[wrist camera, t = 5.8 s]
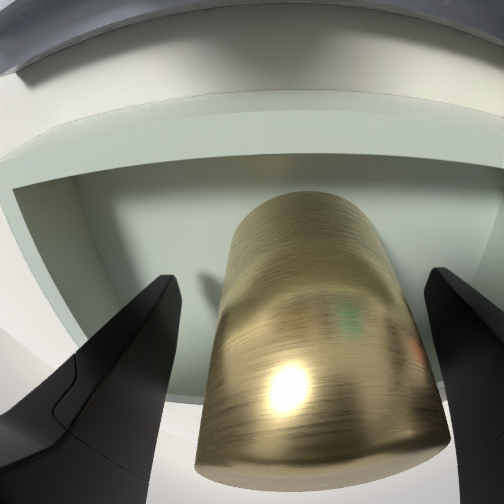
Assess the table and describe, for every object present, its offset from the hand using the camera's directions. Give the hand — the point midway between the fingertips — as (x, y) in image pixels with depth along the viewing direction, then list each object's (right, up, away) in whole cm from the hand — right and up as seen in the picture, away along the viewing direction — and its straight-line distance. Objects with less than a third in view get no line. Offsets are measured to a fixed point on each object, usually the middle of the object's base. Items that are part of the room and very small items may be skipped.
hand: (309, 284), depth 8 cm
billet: (0, +1, +1) cm, 1 cm away
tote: (0, +1, +1) cm, 2 cm away
